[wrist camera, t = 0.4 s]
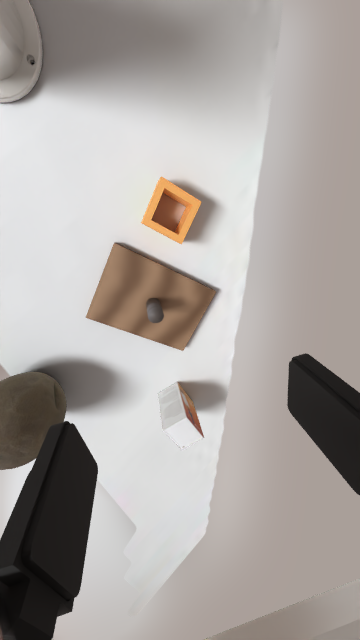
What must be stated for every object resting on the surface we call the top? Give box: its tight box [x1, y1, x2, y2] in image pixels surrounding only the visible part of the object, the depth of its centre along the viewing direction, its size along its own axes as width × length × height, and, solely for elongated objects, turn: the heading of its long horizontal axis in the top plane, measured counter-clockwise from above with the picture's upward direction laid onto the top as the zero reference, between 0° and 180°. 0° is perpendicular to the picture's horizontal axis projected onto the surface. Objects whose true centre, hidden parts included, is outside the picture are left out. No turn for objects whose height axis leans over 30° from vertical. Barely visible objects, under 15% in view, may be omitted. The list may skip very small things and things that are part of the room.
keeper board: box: [86, 243, 216, 351], centre depth 39 cm, size 20×14×7 cm
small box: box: [158, 382, 204, 450], centre depth 48 cm, size 8×6×10 cm
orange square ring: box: [141, 177, 201, 244], centre depth 34 cm, size 7×7×4 cm
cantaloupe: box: [0, 372, 66, 470], centre depth 38 cm, size 14×14×15 cm
